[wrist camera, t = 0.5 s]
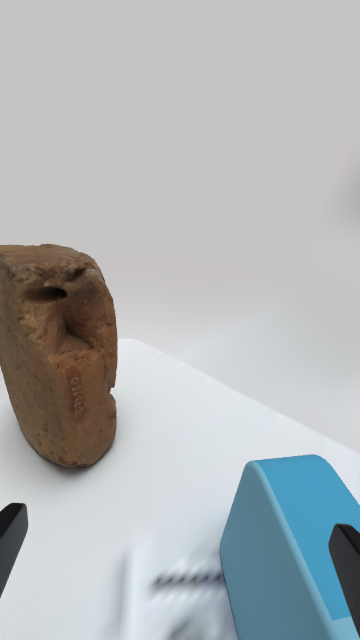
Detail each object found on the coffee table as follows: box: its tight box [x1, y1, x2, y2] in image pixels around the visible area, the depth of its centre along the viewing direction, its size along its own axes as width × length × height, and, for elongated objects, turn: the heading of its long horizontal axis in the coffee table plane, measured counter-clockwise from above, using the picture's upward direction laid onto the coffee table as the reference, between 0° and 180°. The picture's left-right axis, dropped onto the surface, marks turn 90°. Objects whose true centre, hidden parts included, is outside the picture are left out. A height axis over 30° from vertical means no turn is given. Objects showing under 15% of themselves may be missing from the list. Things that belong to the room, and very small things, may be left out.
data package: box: [220, 455, 360, 640], centre depth 13 cm, size 12×4×12 cm, turn 10°
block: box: [0, 244, 117, 467], centre depth 24 cm, size 11×8×20 cm
